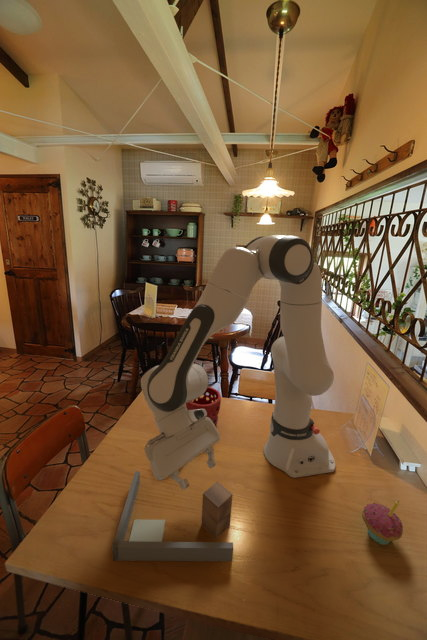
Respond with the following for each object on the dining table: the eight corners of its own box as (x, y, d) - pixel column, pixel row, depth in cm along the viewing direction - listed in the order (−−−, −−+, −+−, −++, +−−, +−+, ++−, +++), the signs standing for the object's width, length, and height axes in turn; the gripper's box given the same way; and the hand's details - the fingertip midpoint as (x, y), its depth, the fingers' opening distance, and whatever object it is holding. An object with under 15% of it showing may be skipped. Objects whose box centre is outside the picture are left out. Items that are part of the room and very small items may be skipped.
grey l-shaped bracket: (226, 484, 81) (227, 473, 80) (232, 561, 62) (233, 548, 61) (135, 482, 80) (135, 471, 79) (113, 560, 61) (112, 547, 60)
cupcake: (393, 525, 72) (404, 488, 68) (403, 559, 64) (416, 520, 60) (356, 513, 74) (365, 477, 71) (361, 545, 66) (372, 506, 63)
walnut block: (215, 511, 73) (217, 481, 70) (229, 525, 70) (232, 493, 67) (201, 524, 69) (202, 493, 66) (216, 539, 66) (218, 507, 63)
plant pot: (190, 409, 115) (191, 383, 112) (221, 414, 113) (223, 388, 109) (180, 430, 103) (181, 401, 99) (215, 436, 100) (217, 407, 97)
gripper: (146, 441, 65) (172, 501, 61) (209, 406, 79) (233, 454, 75) (137, 446, 69) (160, 503, 65) (197, 413, 83) (220, 458, 80)
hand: (200, 476), depth 70 cm, fingers open, 8 cm apart
